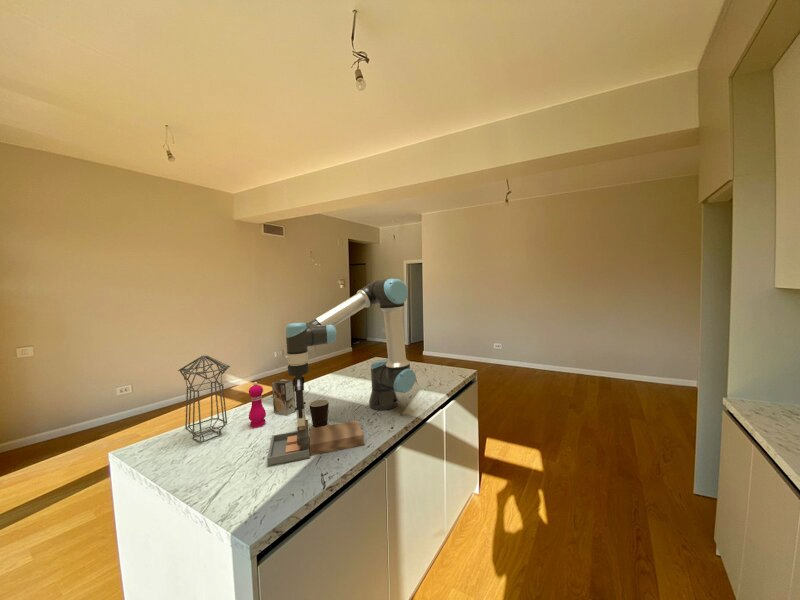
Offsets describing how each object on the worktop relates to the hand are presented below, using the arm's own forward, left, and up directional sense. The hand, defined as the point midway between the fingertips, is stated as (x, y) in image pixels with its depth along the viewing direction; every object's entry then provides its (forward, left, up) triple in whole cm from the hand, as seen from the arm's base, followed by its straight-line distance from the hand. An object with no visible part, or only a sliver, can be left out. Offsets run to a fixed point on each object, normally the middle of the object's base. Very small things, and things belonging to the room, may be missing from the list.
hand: (301, 423), depth 118 cm
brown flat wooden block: (-13, 0, -9) cm, 16 cm away
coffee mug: (-8, -20, -10) cm, 24 cm away
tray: (+5, 0, -9) cm, 10 cm away
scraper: (-1, 0, -4) cm, 4 cm away
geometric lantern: (+39, -27, -10) cm, 48 cm away
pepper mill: (+20, -30, -10) cm, 37 cm away
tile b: (+3, +4, -7) cm, 8 cm away
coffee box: (+9, -41, -10) cm, 43 cm away
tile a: (+3, -4, -7) cm, 8 cm away
